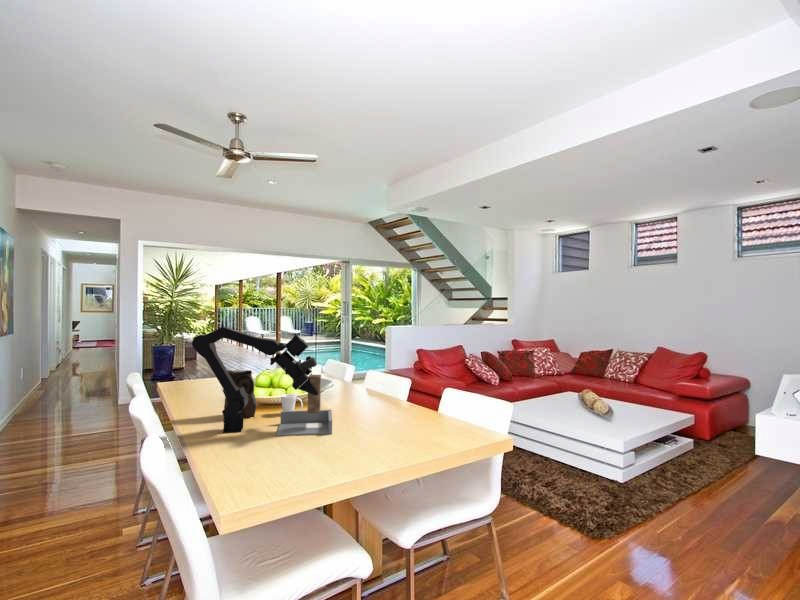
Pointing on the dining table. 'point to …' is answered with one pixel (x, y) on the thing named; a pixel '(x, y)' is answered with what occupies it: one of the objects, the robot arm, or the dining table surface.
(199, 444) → the dining table surface
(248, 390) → the owl
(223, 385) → the robot arm
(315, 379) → the walnut column
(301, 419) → the tray
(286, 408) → the cup
